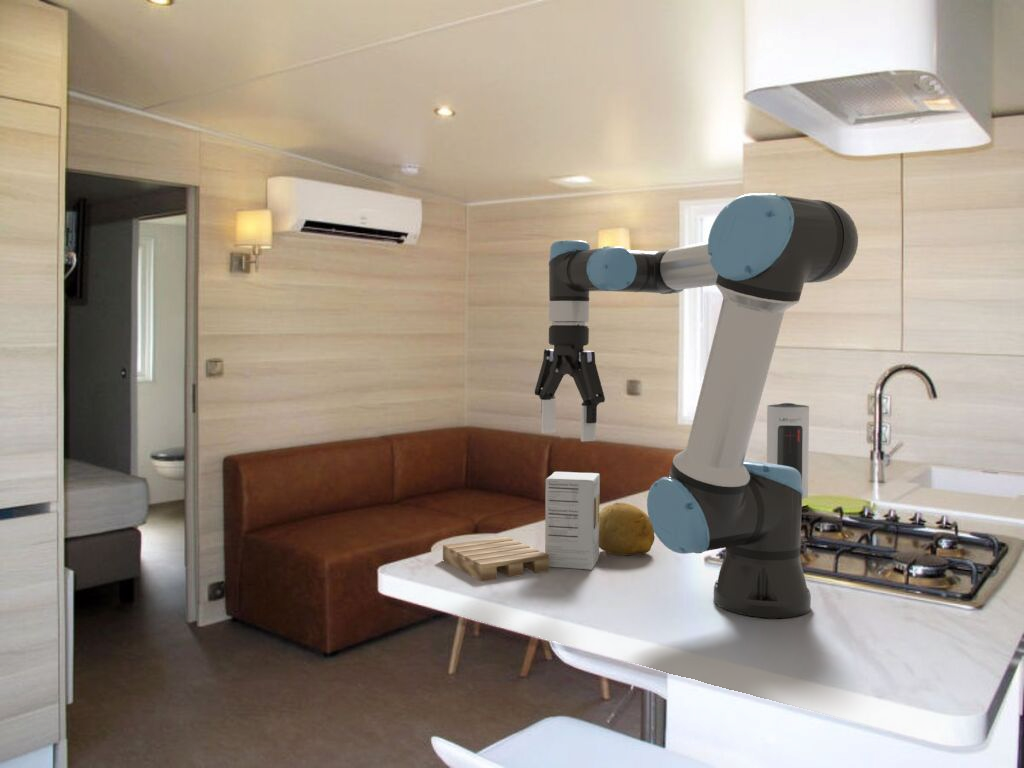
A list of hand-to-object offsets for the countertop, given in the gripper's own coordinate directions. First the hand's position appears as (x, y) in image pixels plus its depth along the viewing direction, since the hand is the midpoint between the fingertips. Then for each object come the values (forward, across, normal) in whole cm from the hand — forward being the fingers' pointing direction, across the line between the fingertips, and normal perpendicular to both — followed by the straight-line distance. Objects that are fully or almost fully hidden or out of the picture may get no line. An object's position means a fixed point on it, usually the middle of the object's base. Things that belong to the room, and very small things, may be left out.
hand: (567, 436), depth 162 cm
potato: (+24, +1, -14) cm, 28 cm away
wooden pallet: (+24, +5, +13) cm, 28 cm away
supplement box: (+24, 0, -1) cm, 24 cm away
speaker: (+24, +20, -81) cm, 87 cm away
